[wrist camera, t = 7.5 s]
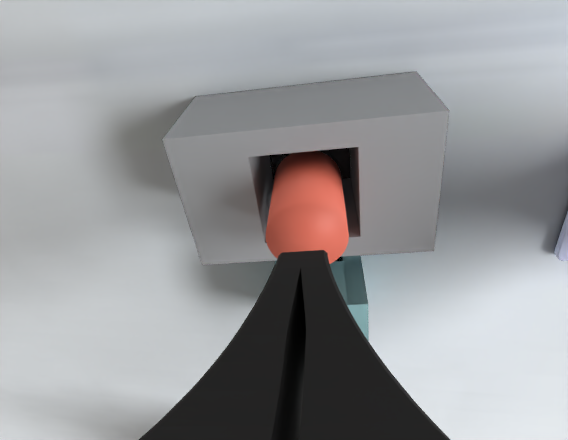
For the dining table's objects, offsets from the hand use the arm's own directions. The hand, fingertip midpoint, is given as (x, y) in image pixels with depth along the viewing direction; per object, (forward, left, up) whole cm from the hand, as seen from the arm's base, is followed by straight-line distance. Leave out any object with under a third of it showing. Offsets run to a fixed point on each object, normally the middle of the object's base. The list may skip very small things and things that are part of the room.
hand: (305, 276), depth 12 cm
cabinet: (0, 0, -9) cm, 9 cm away
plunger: (0, 0, -6) cm, 6 cm away
